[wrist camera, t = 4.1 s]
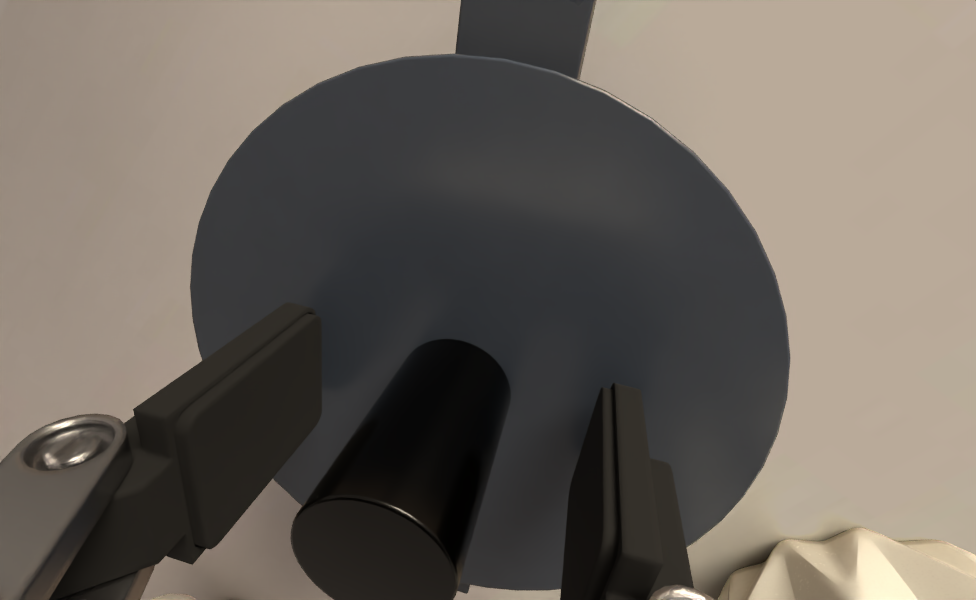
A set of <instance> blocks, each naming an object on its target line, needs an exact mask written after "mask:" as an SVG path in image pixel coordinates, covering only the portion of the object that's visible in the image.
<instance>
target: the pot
mask: <svg viewBox="0 0 976 600" xmlns="http://www.w3.org/2000/svg"><path fill="white" fill-rule="evenodd" d="M595 4H596V0H461V6H460V15H459V24H458V34H457V43H456V52H455V54H462V55H473V56H484V57H495V58H505V59H509V60H513V61H518V62H522V63H526V64H530V65H534V66H538V67H542V68H546V69H550V70H554V71H558V72H561V73H563V74H566V75H568V76H571V77H573V78H576V79H578V80H579V79H580V74H581V69H582V65H583V60H584V56H585V51H586V46H587V42H588V37H589V32H590V28H591V23H592V18H593V14H594V9H595ZM469 586H470V584H464V583H459V586H458V590H457V591H460V592H463V593H468V590H469Z"/></svg>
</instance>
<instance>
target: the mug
mask: <svg viewBox="0 0 976 600" xmlns="http://www.w3.org/2000/svg"><path fill="white" fill-rule="evenodd" d="M151 600H196V599H195V598H194V597H192V596H190V595H187V594H166V595H163V596H159V597H156V598H153V599H151Z"/></svg>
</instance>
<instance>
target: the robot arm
mask: <svg viewBox="0 0 976 600" xmlns="http://www.w3.org/2000/svg"><path fill="white" fill-rule="evenodd" d="M133 411H134V415H135V416H134V417H132V418H131V419H129V420H128V421H127V422H125V423H123V422H122V421H121V420H120V419H118V418H116V417H113V416H110V415H104V414H86V415H77V416H73V417H69V418H65V419H61V420H58V421H56V422H53V423H51V424H48V425H45V426H44V427H42V428H40V429H38V430H36V431H35V432H33V433H31V434H29V435H28V436H27V437H26V438H25V439H23V440H22V441H21V442H20V443H19V444H17V446H16V447H15V448H14V449H13V450H12V451H11V452H10V453H9V454H8V455H7V456H6V457H5V458H4V459H3V460H2V461H1V463H0V600H140V599H141V596H142V594H143V592H144V590H145V588H146V586H147V583H148V581H149V579H150V577H151V575H152V572H153V570H154V567H155V565H156V564H158V563H159V562H160V561H161V560H162V559H163V558H164V557H165V556H168V557H171V558H174V559H177V560H180V561H183V562H186V563H189V564H192V565H193V563H194V562H195V561H196V560H197V559H198V558H199V556H200V555H201V554H202V553H203V552H204V550H205V549H206V548H207V549H212V548H214V547H215V546H216V545H217V544H218V543H219V542H220V541H221V540H222V539H223V538H224V536H225V535H226V534H227V533H228V532H229V530H230V529H231V528H232V527H233V526H234V524H235V523H236V522H237V521H238V520H239V518H240V517H241V516H242V515H243V513H244V512H245V511H246V510H247V509H248V507H249V506H250V505H251V504H252V503H253V501H254V500H255V499H256V498H257V497H258V495H259V494H260V493H261V492H262V491H263V489H264V488H265V487H266V486H267V485H268V483H269V482H270V481H271V480H272V478H273V477H274V476H275V475H276V474H277V472H278V471H279V470H280V469H281V468H282V466H283V465H284V464H285V463H286V462H287V460H288V459H289V458H290V457H291V456H292V454H293V453H294V452H295V451H296V450H297V448H298V447H299V446H300V445H301V443H302V442H303V441H304V440H305V439H306V437H307V436H308V435H309V434H310V433H311V431H312V430H313V429H314V428H315V427H316V425H317V424H318V422H319V420H320V417H321V413H322V322H321V318H320V317H319V316H316V313H315V310H314V309H313V308H310V307H306V306H302V305H298V304H294V303H290V302H287V303H285V304H283V305H282V306H280V307H279V308H277V309H276V310H274V311H273V312H272V313H270V314H269V315H267V316H266V317H264V318H263V319H262V320H260V321H259V322H257V323H256V324H254V325H253V326H252V327H250V328H249V329H247V330H246V331H244V332H243V333H242V334H240V335H239V336H237V337H236V338H234V339H233V340H232V341H230V342H229V343H227V344H226V345H224V346H223V347H222V348H220V349H219V350H217V351H216V352H214V353H213V354H212V355H210V356H209V357H207V358H206V359H204V360H203V361H201V362H200V363H199V364H197V365H196V366H194V367H193V368H191V369H190V370H189V371H187V372H186V373H184V374H183V375H181V376H180V377H179V378H177V379H176V380H174V381H173V382H171V383H170V384H169V385H167V386H166V387H164V388H163V389H161V390H160V391H159V392H157V393H156V394H154V395H153V396H151V397H150V398H149V399H147V400H146V401H144V402H143V403H141V404H140V405H139V406H137V407H136V408H134V409H133ZM560 600H714V599H713V598H712V597H711V596H709V595H707V594H705V593H703V592H701V591H699V590H697V589H695V588H694V587H693V581H692V576H691V571H690V565H689V560H688V554H687V549H686V543H685V538H684V532H683V527H682V521H681V516H680V510H679V505H678V500H677V494H676V489H675V483H674V478H673V472H672V469H671V466H670V465H669V463H667V462H663V461H659V460H655V459H652V458H650V455H649V447H648V440H647V432H646V424H645V417H644V409H643V401H642V393H641V390H640V389H637V388H633V387H629V386H625V385H621V384H617V383H613V384H612V385H611V388H610V389H608V388H604V387H602V388H601V389H600V392H599V395H598V398H597V401H596V404H595V407H594V411H593V414H592V417H591V420H590V423H589V426H588V430H587V433H586V436H585V439H584V442H583V445H582V449H581V452H580V455H579V458H578V461H577V464H576V468H575V471H574V474H573V477H572V481H571V485H570V490H569V497H568V509H567V522H566V534H565V547H564V560H563V572H562V585H561V598H560Z"/></svg>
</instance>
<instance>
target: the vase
mask: <svg viewBox="0 0 976 600" xmlns="http://www.w3.org/2000/svg"><path fill="white" fill-rule="evenodd" d="M718 600H976V555H974V554H972V553H970V552H968V551H965V550H963V549H961V548H959V547H956V546H954V545H952V544H950V543H948V542H945V541H939V540H915V541H902V542H897V541H895V540H893V539H890V538H888V537H886V536H884V535H882V534H879V533H877V532H874V531H871V530H868V529H866V528H852V529H849V530H847V531H845V532H842V533H840V534H838V535H836V536H834V537H832V538H830V539H827V540H825V541H807V540H791V539H787V540H784V541H781V542H779V543H778V544H777V545H776V546H775V548H774V549H773V551H772V552H771V554H770V555H769V557H768V559H767V560H766V562H764V563H761V564H757V565H753V566H749V567H745V568H742V569H739V570H736V571H735V572H733V573H732V574H731V575H730V577H729V578H728V580H727V582H726V584H725V586H724V587H723V589H722V592H721V594H720V596H719V598H718Z"/></svg>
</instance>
